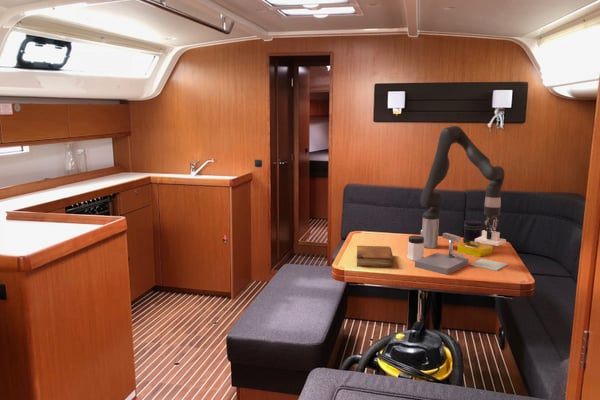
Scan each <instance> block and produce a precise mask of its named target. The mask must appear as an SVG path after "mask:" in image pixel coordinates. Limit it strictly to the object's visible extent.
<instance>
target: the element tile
mask: <svg viewBox="0 0 600 400" xmlns="http://www.w3.org/2000/svg"><path fill="white" fill-rule="evenodd" d="M493 246H494V245H490V244H485V243H477V242H474V241H469V242H466V243H463V242H462V243H459V244H456V247H457V248H456V253H458V254H464V255H469V256H473V257H478V258H480V257H485V256H489V255H491V254H493V249H494V247H493Z"/></svg>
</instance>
